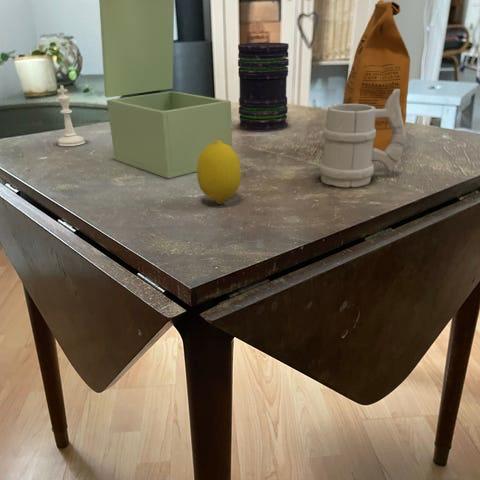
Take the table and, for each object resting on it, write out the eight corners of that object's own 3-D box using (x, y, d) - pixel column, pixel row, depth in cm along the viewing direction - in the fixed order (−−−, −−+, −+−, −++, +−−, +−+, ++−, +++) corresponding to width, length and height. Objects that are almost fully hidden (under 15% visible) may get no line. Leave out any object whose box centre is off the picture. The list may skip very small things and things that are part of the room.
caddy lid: (174, -25, 82) (156, -30, 84) (100, -25, 75) (82, -31, 77) (172, 88, 92) (156, 80, 95) (107, 97, 85) (91, 88, 88)
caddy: (232, 162, 87) (231, 101, 82) (168, 178, 80) (162, 112, 75) (176, 146, 97) (171, 90, 92) (114, 159, 90) (106, 100, 85)
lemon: (190, 203, 70) (186, 140, 66) (223, 194, 73) (221, 133, 69) (216, 214, 66) (213, 148, 62) (250, 204, 69) (249, 140, 65)
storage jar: (251, 120, 116) (251, 42, 109) (294, 123, 112) (296, 42, 105) (230, 129, 109) (228, 46, 101) (275, 132, 105) (277, 47, 97)
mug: (313, 173, 80) (317, 87, 74) (390, 170, 81) (401, 84, 75) (324, 189, 74) (330, 95, 68) (408, 185, 75) (422, 92, 69)
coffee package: (393, 143, 96) (411, -1, 85) (403, 161, 85) (425, 0, 74) (337, 142, 97) (347, 0, 86) (340, 160, 87) (352, 1, 75)
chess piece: (63, 140, 103) (52, 83, 98) (88, 140, 103) (79, 83, 98) (54, 146, 99) (43, 87, 94) (80, 146, 99) (70, 87, 93)
